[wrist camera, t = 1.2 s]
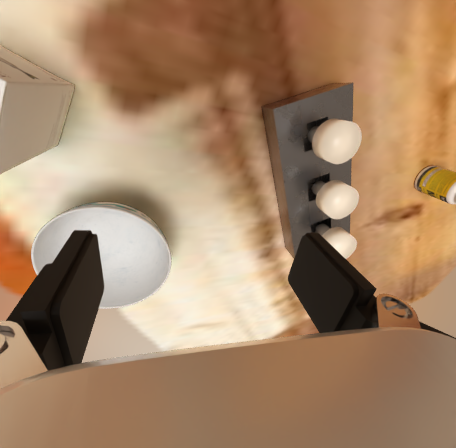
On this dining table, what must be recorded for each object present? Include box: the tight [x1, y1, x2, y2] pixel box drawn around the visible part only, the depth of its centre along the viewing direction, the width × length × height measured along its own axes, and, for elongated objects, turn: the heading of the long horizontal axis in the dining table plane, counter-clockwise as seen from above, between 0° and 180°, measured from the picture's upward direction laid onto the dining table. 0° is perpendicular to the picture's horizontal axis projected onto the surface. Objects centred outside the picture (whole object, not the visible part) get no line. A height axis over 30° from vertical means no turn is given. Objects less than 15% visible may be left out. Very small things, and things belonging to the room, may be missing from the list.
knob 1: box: [308, 119, 362, 164], centre depth 27 cm, size 4×4×6 cm
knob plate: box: [262, 83, 353, 258], centre depth 35 cm, size 24×10×4 cm, turn 15°
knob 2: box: [315, 223, 357, 259], centre depth 35 cm, size 4×4×6 cm
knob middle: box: [312, 180, 359, 219], centre depth 31 cm, size 4×4×6 cm
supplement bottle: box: [415, 166, 456, 204], centre depth 39 cm, size 5×5×8 cm
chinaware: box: [31, 202, 171, 308], centre depth 31 cm, size 15×15×8 cm
